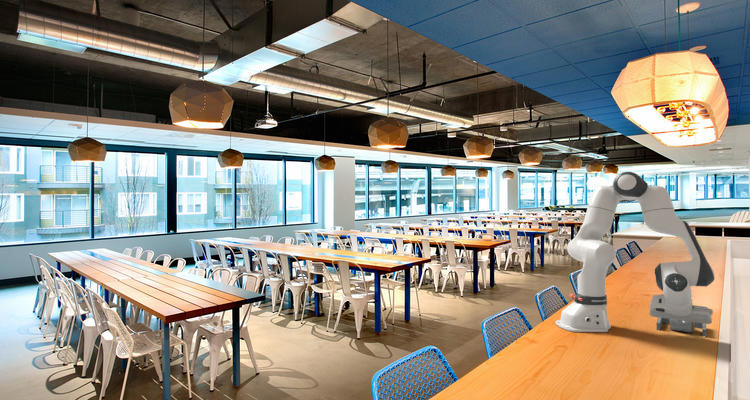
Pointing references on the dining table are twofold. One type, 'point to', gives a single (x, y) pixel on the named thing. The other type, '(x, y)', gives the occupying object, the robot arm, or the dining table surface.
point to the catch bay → (665, 320)
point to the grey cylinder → (682, 326)
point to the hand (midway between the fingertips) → (680, 322)
